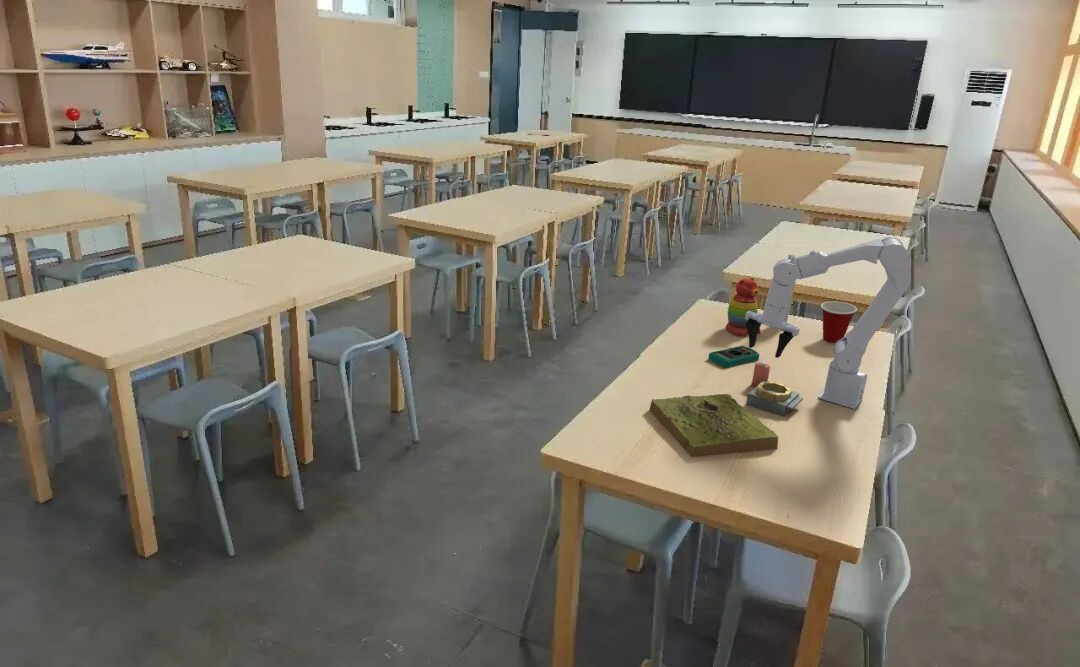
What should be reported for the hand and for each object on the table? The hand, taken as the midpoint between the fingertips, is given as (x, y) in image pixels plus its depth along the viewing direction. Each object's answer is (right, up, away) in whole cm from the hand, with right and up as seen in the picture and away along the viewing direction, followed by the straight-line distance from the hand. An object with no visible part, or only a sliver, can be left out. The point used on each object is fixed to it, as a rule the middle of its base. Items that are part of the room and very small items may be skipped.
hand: (764, 351), depth 197 cm
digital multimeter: (-3, -3, +20) cm, 21 cm away
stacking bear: (+6, +6, +45) cm, 46 cm away
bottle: (+21, +7, +51) cm, 55 cm away
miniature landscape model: (-20, -19, -22) cm, 35 cm away
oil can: (-1, -9, +3) cm, 10 cm away
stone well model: (0, -13, -7) cm, 15 cm away
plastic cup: (+34, +2, +40) cm, 53 cm away
